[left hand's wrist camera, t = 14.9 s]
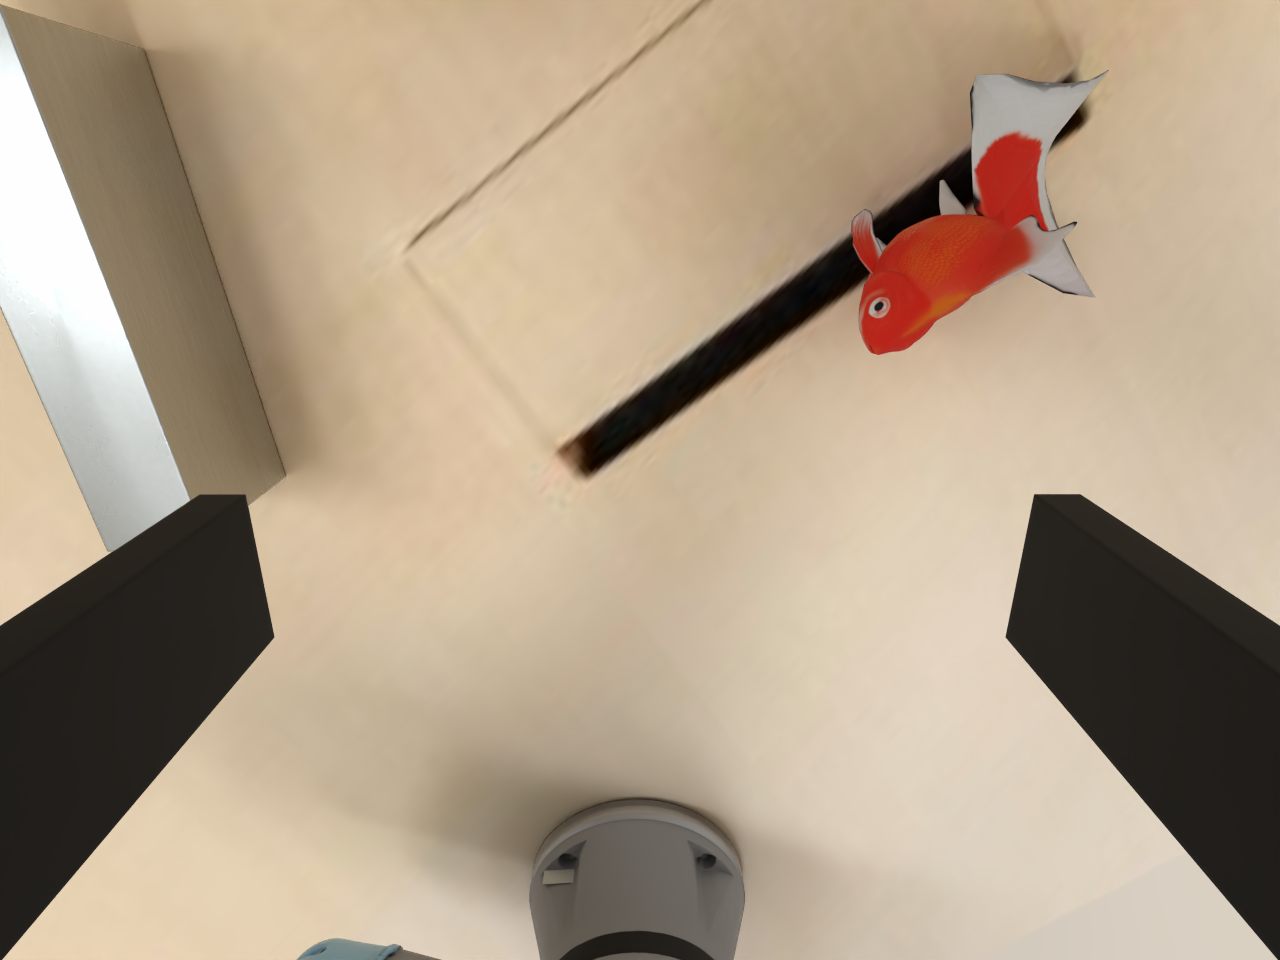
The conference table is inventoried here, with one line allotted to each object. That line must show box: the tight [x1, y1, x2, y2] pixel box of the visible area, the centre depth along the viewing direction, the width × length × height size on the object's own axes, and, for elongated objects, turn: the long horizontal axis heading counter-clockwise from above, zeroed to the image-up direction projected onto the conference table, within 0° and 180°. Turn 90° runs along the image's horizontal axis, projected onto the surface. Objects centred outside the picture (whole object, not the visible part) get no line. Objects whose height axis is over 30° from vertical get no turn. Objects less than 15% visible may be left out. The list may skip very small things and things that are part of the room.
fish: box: [851, 70, 1109, 355], centre depth 34 cm, size 11×16×10 cm
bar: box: [0, 5, 285, 552], centre depth 35 cm, size 22×5×9 cm, turn 8°
